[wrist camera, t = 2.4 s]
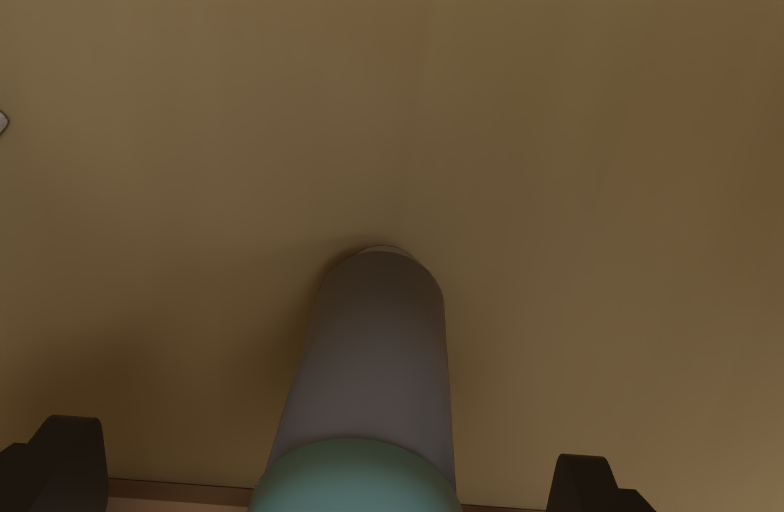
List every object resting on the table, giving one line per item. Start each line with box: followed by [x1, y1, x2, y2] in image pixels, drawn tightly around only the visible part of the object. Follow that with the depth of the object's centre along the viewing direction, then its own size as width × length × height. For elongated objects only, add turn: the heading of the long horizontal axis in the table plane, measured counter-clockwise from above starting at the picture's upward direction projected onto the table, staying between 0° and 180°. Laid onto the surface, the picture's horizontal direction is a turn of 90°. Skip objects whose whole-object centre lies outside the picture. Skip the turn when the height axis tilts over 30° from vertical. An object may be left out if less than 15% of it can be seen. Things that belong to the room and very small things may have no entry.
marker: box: [247, 246, 463, 512], centre depth 15 cm, size 4×4×10 cm
